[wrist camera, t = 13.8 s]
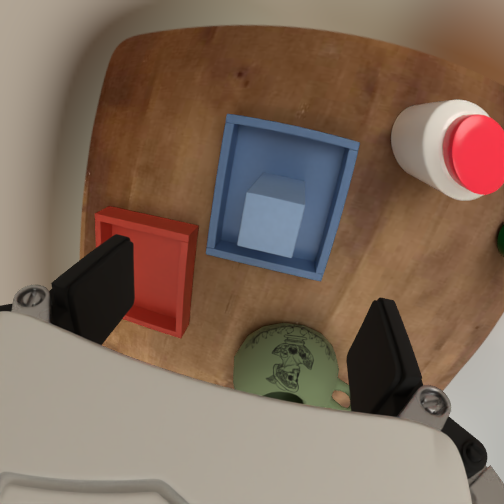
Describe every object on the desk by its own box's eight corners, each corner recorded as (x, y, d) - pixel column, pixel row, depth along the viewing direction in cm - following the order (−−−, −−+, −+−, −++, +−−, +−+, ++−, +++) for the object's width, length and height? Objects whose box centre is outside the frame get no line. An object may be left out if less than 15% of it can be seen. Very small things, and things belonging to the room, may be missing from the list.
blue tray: (234, 114, 27) (226, 113, 24) (354, 141, 26) (360, 142, 23) (213, 243, 32) (205, 254, 30) (319, 268, 32) (321, 281, 29)
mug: (228, 372, 40) (213, 420, 32) (251, 301, 35) (236, 352, 27) (333, 399, 39) (334, 447, 32) (375, 336, 34) (388, 388, 26)
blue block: (263, 171, 28) (246, 191, 20) (304, 181, 28) (305, 205, 20) (255, 211, 30) (236, 245, 22) (295, 220, 29) (291, 258, 21)
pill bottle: (458, 111, 22) (522, 112, 12) (454, 183, 25) (514, 215, 15) (390, 99, 23) (437, 86, 13) (389, 176, 26) (432, 206, 17)
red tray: (109, 205, 33) (94, 213, 30) (198, 225, 32) (189, 235, 29) (112, 299, 38) (101, 311, 36) (189, 324, 38) (181, 338, 35)
